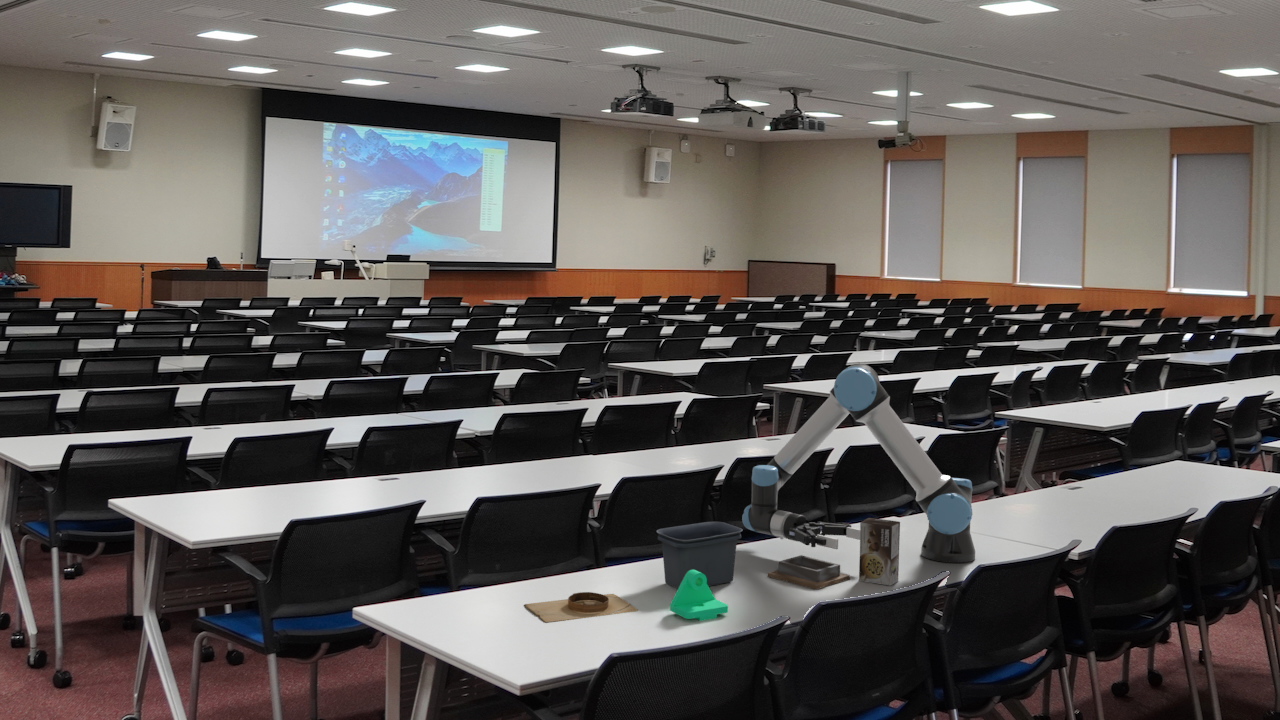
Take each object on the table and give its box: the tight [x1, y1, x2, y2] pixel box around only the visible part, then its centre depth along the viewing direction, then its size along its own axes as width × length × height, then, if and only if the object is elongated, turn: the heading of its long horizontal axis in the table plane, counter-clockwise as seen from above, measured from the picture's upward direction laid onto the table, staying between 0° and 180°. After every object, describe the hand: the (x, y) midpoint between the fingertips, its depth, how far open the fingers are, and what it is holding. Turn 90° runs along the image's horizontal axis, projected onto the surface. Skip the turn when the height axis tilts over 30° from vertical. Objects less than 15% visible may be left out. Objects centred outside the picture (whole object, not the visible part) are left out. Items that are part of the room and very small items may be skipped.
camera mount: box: [669, 570, 729, 622], centre depth 276 cm, size 12×8×10 cm, turn 120°
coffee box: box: [858, 517, 901, 586], centre depth 308 cm, size 9×6×16 cm
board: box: [523, 591, 639, 624], centre depth 280 cm, size 25×15×3 cm, turn 117°
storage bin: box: [656, 521, 744, 589], centre depth 304 cm, size 21×16×14 cm
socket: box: [767, 554, 851, 590], centre depth 310 cm, size 15×16×4 cm
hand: (852, 540), depth 314 cm, fingers open, 13 cm apart
